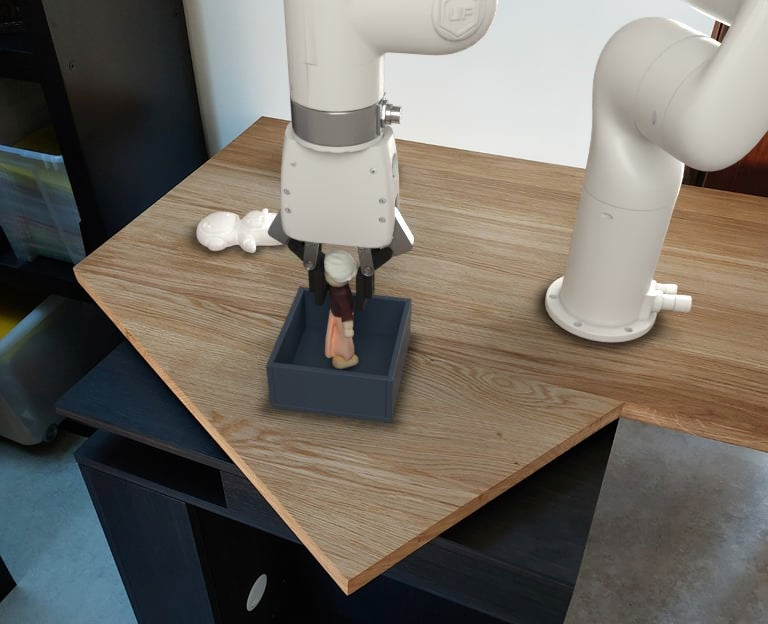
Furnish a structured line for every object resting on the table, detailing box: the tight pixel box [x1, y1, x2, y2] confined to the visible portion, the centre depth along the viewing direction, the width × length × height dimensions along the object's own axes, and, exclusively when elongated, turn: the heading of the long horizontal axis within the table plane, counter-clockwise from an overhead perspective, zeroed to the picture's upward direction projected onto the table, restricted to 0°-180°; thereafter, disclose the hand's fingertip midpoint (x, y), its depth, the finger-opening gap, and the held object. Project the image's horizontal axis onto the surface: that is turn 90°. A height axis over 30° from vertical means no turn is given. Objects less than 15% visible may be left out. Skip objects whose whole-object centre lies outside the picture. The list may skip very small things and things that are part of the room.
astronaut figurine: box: [195, 207, 284, 254], centre depth 100 cm, size 9×12×3 cm
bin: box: [265, 286, 413, 424], centre depth 80 cm, size 12×13×6 cm
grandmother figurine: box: [324, 248, 359, 369], centre depth 76 cm, size 8×4×13 cm, turn 21°
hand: (342, 298), depth 75 cm, fingers closed on grandmother figurine, 3 cm apart
